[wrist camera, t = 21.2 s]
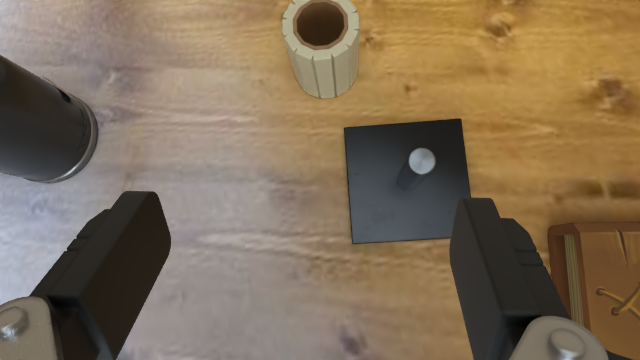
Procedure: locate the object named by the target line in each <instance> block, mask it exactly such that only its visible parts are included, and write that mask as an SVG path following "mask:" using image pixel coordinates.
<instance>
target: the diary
mask: <svg viewBox="0 0 640 360" xmlns="http://www.w3.org/2000/svg"><path fill="white" fill-rule="evenodd" d="M548 243H549V253H550V263H551V273H552V282H553V284H554V286H555V288H556V290H557V292H558V294H559V296H560V298H561V300H562V302H563V304H564V306H565V308H566V310H567V312H568V314H569V316H570V318H571V320H572V321H574V322H576V323H578V324H580V325H581V326H583V327H585V328H586V329H587V330H589V331H590V332H591V333H592V334H593V335H595V336H596V338H597V339H598V340H599V341H600V342H601V344H602V345H603V347H604V348H605V349H606V350H608V351H610V352H612V353H615V354H618V355H620V356H624V357H627V358H630V359H633V360H640V222H622V223H570V224H563V225H557V226H551V229H550V231H549V234H548Z"/></svg>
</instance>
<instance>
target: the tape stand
mask: <svg viewBox="0 0 640 360" xmlns="http://www.w3.org/2000/svg"><path fill="white" fill-rule="evenodd" d="M344 134H345V148H346V162H347V176H348V190H349V204H350V218H351V232H352V244H362V243H378V242H395V241H411V240H427V239H443V238H451V235H452V230H453V225H454V219H455V214H456V209H457V204H458V201H459V199H460V198H471V195H470V187H469V179H468V171H467V163H466V154H465V146H464V138H463V130H462V122H461V119H449V120H436V121H423V122H410V123H398V124H385V125H372V126H359V127H347V128H344Z"/></svg>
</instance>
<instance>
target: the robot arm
mask: <svg viewBox="0 0 640 360" xmlns="http://www.w3.org/2000/svg"><path fill="white" fill-rule="evenodd" d="M44 78H45V77H44ZM45 79H47V78H45ZM47 80H48V79H47ZM48 81H49V82H51V83H52V84H54V83H53V82H52V81H50V80H48ZM52 84H50V83H48V82H47V81H45V80H43V79H41V78H40V77H38V76H36V75H34V74H33V73H31V72H29V71H28V70H26V69H24V68H22V67H21V66H19V65H17V64H15V63H14V62H12V61H10V60H8V59H7V58H5V57H3V56H1V55H0V172H2V173H5V174H10V175H14V176H18V177H22V178H25V179H27V180H30V181H34V182H39V183H55V182H59V181H62V180H65V179H67V178H69V177H71V176H73V175H74V174H76V173H77V172H78V171H79V170H80V169H81V168H82V167H83V166H84V165H85V164H86V163H87V161H88V160H89V158H90V157H91V155H92V153H93V151H94V148H95V145H96V140H97V125H96V120H95V117H94V115H93V113H92V111H91V110H90V108H89V107H88V106H87V105H86V104H85V103H84V102H83V101H81V100H80V99H78V98H76V97H75V96H73V95H71V94H69V93H67V92H65V91H64V90H63V89H61V88H60V87H59V86H57V85H56V84H54V85H55V86H56V87H55V86H54V85H52ZM57 87H58V88H57ZM170 247H171V236H170V232H169V229H168V225H167V222H166V219H165V216H164V213H163V209H162V206H161V203H160V200H159V197H158V195H157V194H156V193H155V192H151V191H125V192H124V193H122V194H121V196H120V197H119V198H118V200H117V201H116V202H115V204H114V205H113V206H112V208H111V209H105V210H104V211H102V212H101V213H99V214H98V215H97V216H95V217H94V218H92V219H91V220H90V221H88V222H87V224H86V225H85V226H84V227H83V229H82V230H81V231H80V232H79V234H78V235H77V238H76V239H74V240H73V241H72V242H71V244H70V245H69V246H68V248H67V251H64V253H63V254H62V255H61V256H60V258H59V259H58V260H57V261H56V263H55V264H54V265H53V266H52V268H51V269H50V270H49V271H48V273H47V274H46V275H45V277H44V278H43V279H42V280H41V282H40V283H39V284H38V285H37V287H36V288H35V289H34V290H33V292H32V293H31V294H30V295H29V297H21V298H17V299H14V300H11V301H8V302H6V303H4V304H2V305H0V360H116V359H117V357H118V355H119V353H120V351H121V349H122V347H123V345H124V343H125V341H126V339H127V337H128V335H129V333H130V331H131V329H132V327H133V325H134V323H135V321H136V319H137V317H138V315H139V313H140V311H141V309H142V307H143V305H144V303H145V301H146V299H147V297H148V295H149V293H150V291H151V289H152V287H153V285H154V283H155V281H156V279H157V277H158V275H159V273H160V271H161V269H162V267H163V265H164V264H165V262H166V260H167V258H168V255H169V252H170ZM450 264H451V268H452V272H453V276H454V280H455V285H456V289H457V293H458V297H459V301H460V305H461V309H462V313H463V317H464V321H465V325H466V329H467V333H468V337H469V342H470V346H471V350H472V354H473V358H474V360H633V359H630V358H627V357H624V356H620V355H618V354H615V353H612V352H610V351H608V350H606V349H605V348H604V347H603V345H602V344H601V342H600V341H599V340H598V339H597V338H596V336H595V335H593V334H592V333H591V332H590V331H589V330H587V329H586V328H585V327H583V326H581V325H580V324H578V323H576V322H574V321H572V320H571V318H570V316H569V314H568V312H567V310H566V308H565V306H564V304H563V302H562V300H561V298H560V296H559V294H558V292H557V290H556V288H555V286H554V284H553V282H552V280H551V278H550V276H549V273H548V271H547V269H546V267H545V266H543V261H542V259H541V257H540V255H539V253H538V252H536V247H535V245H534V243H533V241H532V239H531V237H530V235H529V233H528V232H527V231H526V230H525V229H524V228H523V227H522V226H521V225H519V224H518V223H517V222H516V221H515V220H514V219H509V218H500V216H499V213H498V211H497V209H496V206H495V204H494V202H493V200H492V199H491V198H460V199H459V201H458V204H457V209H456V214H455V219H454V225H453V230H452V235H451V240H450Z"/></svg>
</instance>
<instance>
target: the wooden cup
mask: <svg viewBox="0 0 640 360" xmlns="http://www.w3.org/2000/svg"><path fill="white" fill-rule="evenodd" d="M282 34H283V38H284V41H285V44H286V48H287V51H288V54H289V57H290V60H291V64H292V67H293V70H294V73H295V77H296V79H297V82H298V83H299V84H300V86H301V87H302V89H303V90H304V91H305V90H306V93H308V94H310V95H312V96H314V97H317V98H319V97H320V96H321V99H325V98H335V94H336V96H337V97H338V96H340V95H341V94H343V93H344V92H346V91H347V90H349V87H352V85H353V83H354V81H355V79H356V77H357V73H358V54H359V16H358V13H357V9H356V8H355V6H354V5H353V4H352V2H351V1H350V0H293V3H290V4H289V6H288V8H287V10H286V12H285V13H284V15H283V19H282Z"/></svg>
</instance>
